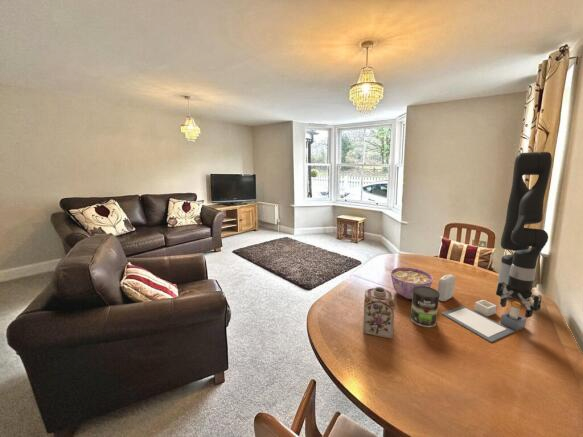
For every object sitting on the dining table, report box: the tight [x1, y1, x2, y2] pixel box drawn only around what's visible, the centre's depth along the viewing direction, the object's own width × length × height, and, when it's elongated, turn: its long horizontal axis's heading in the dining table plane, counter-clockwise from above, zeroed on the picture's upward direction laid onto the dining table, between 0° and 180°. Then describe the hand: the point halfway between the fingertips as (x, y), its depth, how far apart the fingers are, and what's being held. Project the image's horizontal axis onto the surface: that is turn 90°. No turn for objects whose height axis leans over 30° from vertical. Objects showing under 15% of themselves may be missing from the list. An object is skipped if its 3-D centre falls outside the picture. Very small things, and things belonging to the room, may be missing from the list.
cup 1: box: [473, 299, 497, 318], centre depth 117 cm, size 6×6×4 cm
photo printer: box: [437, 273, 456, 302], centre depth 129 cm, size 10×4×12 cm, turn 123°
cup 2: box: [499, 311, 527, 332], centre depth 107 cm, size 6×6×4 cm
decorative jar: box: [362, 286, 396, 339], centre depth 106 cm, size 12×12×18 cm
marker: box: [509, 300, 522, 321], centre depth 107 cm, size 3×3×10 cm
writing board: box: [441, 305, 515, 343], centre depth 110 cm, size 15×21×1 cm
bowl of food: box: [390, 266, 434, 300], centre depth 132 cm, size 20×20×12 cm
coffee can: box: [410, 286, 440, 328], centre depth 111 cm, size 10×10×14 cm
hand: (514, 311), depth 106 cm, fingers open, 8 cm apart
